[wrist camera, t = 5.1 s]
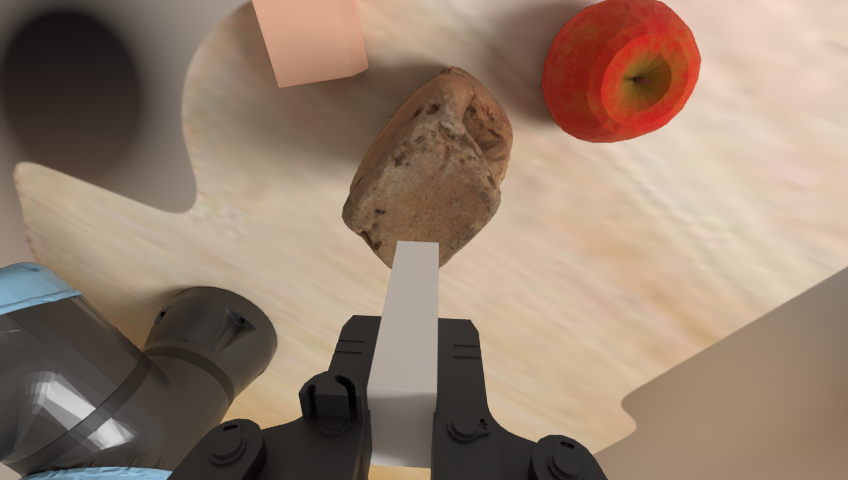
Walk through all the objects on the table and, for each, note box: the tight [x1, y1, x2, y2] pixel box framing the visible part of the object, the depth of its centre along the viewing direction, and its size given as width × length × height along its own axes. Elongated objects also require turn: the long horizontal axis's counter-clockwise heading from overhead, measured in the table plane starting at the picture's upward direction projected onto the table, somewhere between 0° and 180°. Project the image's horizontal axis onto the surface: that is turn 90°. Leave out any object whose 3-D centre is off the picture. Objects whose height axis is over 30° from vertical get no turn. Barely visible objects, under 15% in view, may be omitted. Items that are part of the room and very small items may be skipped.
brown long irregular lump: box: [342, 66, 513, 269], centre depth 29 cm, size 11×8×20 cm
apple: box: [541, 0, 701, 143], centre depth 30 cm, size 11×11×11 cm
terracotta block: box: [252, 0, 369, 88], centre depth 31 cm, size 6×6×7 cm
